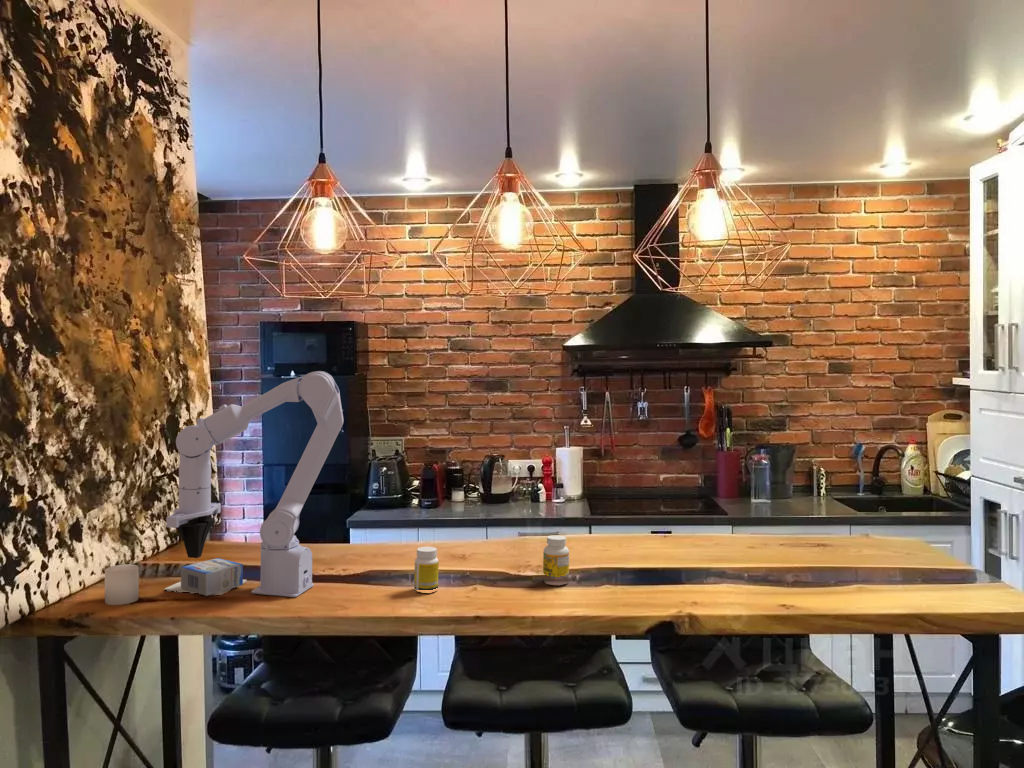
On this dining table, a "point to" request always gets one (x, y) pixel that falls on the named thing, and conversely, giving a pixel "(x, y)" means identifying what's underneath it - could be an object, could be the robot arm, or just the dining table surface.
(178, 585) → the mat
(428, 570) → the supplement bottle
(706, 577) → the dining table surface
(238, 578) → the medicine box
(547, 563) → the supplement bottle
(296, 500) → the robot arm
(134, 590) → the white rounded cylinder
